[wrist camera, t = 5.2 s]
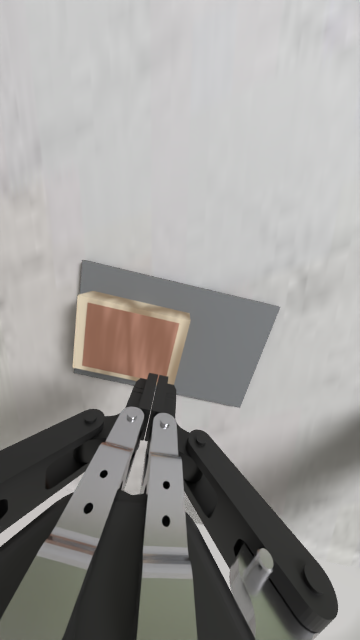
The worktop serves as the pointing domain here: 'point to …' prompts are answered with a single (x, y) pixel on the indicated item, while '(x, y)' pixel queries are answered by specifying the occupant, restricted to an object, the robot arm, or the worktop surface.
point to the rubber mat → (196, 331)
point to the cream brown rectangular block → (128, 337)
